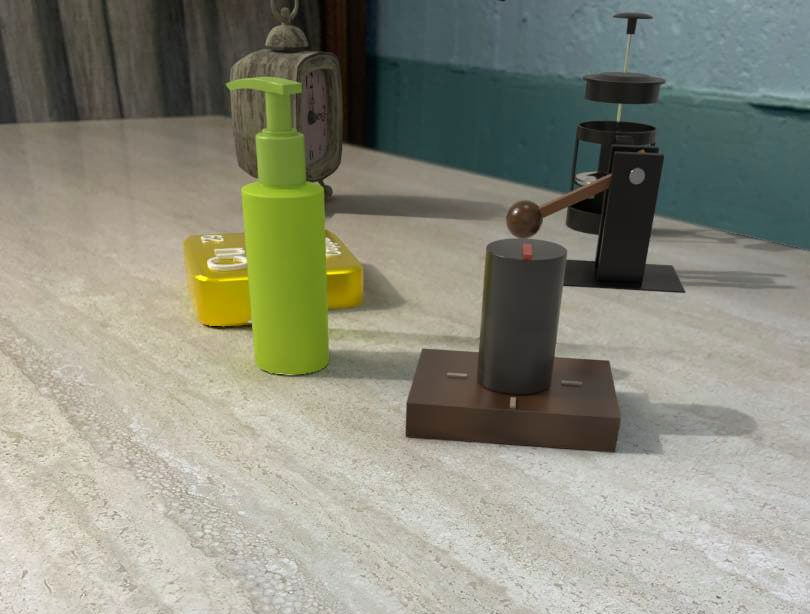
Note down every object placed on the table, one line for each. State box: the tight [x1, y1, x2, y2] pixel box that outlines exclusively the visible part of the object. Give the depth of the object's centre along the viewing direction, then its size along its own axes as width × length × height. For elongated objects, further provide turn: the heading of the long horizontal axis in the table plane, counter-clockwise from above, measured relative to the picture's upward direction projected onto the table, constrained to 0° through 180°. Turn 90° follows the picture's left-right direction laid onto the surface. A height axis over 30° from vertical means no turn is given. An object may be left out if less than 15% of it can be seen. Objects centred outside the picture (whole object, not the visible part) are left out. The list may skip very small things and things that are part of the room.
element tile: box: [182, 228, 364, 328], centre depth 81 cm, size 15×15×5 cm
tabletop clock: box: [229, 0, 344, 199], centre depth 108 cm, size 14×9×25 cm, turn 161°
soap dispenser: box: [225, 77, 330, 375], centre depth 64 cm, size 6×7×20 cm
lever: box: [505, 150, 645, 239], centre depth 83 cm, size 14×4×4 cm, turn 83°
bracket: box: [563, 144, 686, 294], centre depth 84 cm, size 12×9×13 cm
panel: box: [405, 347, 622, 453], centre depth 61 cm, size 14×10×3 cm
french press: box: [565, 12, 667, 236], centre depth 98 cm, size 12×9×23 cm
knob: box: [477, 237, 568, 394], centre depth 58 cm, size 5×5×9 cm
